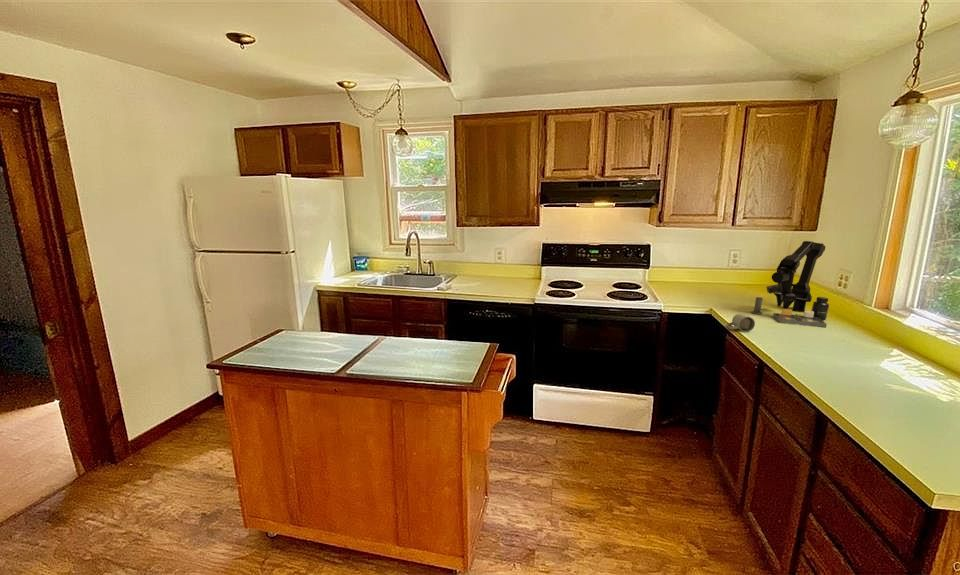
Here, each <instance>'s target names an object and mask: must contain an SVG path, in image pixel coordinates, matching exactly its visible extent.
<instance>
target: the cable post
mask: <svg viewBox="0 0 960 575" xmlns="http://www.w3.org/2000/svg"><path fill="white" fill-rule="evenodd" d="M763 300H764V299H763V298H762V297H759V296H756V298H755V302H754V309H753V310H751V312H750V313H751V314H752V315H758V316H761V315H762V316H763V312H761V309H762V303H763Z"/></svg>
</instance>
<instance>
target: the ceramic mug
mask: <svg viewBox="0 0 960 575" xmlns="http://www.w3.org/2000/svg"><path fill="white" fill-rule="evenodd" d="M755 326H756V322H755V318H753V317H751V316H749V315H746V314H743V313H738V314H735V315H734V316H733V317H732V320H731V322H729V323H727V325H726V328H727V329H728V330H731V331H732V330H737V329H738V330H740V331H741V332H744V333H747V332H751V331H753V330H754V328H755Z"/></svg>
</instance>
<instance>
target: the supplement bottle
mask: <svg viewBox="0 0 960 575" xmlns="http://www.w3.org/2000/svg"><path fill="white" fill-rule="evenodd" d="M829 309H830V304H829V298H828V297H826V296H816V300H815V301H813V304H812V308H811V311H813V312H814V316H813V317H818V318H819V319H821V320H822V321H824V320H825V321H826V320H827V317H828V312H829ZM825 321H824V322H825Z"/></svg>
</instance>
